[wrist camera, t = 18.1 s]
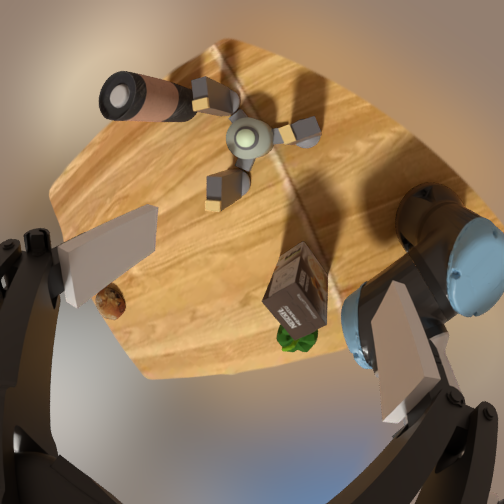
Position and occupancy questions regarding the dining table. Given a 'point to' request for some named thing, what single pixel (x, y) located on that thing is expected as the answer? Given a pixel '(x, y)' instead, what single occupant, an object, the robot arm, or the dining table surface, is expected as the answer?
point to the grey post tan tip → (213, 97)
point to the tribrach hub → (250, 139)
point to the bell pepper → (295, 341)
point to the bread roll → (110, 304)
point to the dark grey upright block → (301, 133)
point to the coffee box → (298, 292)
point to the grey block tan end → (225, 189)
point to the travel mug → (144, 99)
